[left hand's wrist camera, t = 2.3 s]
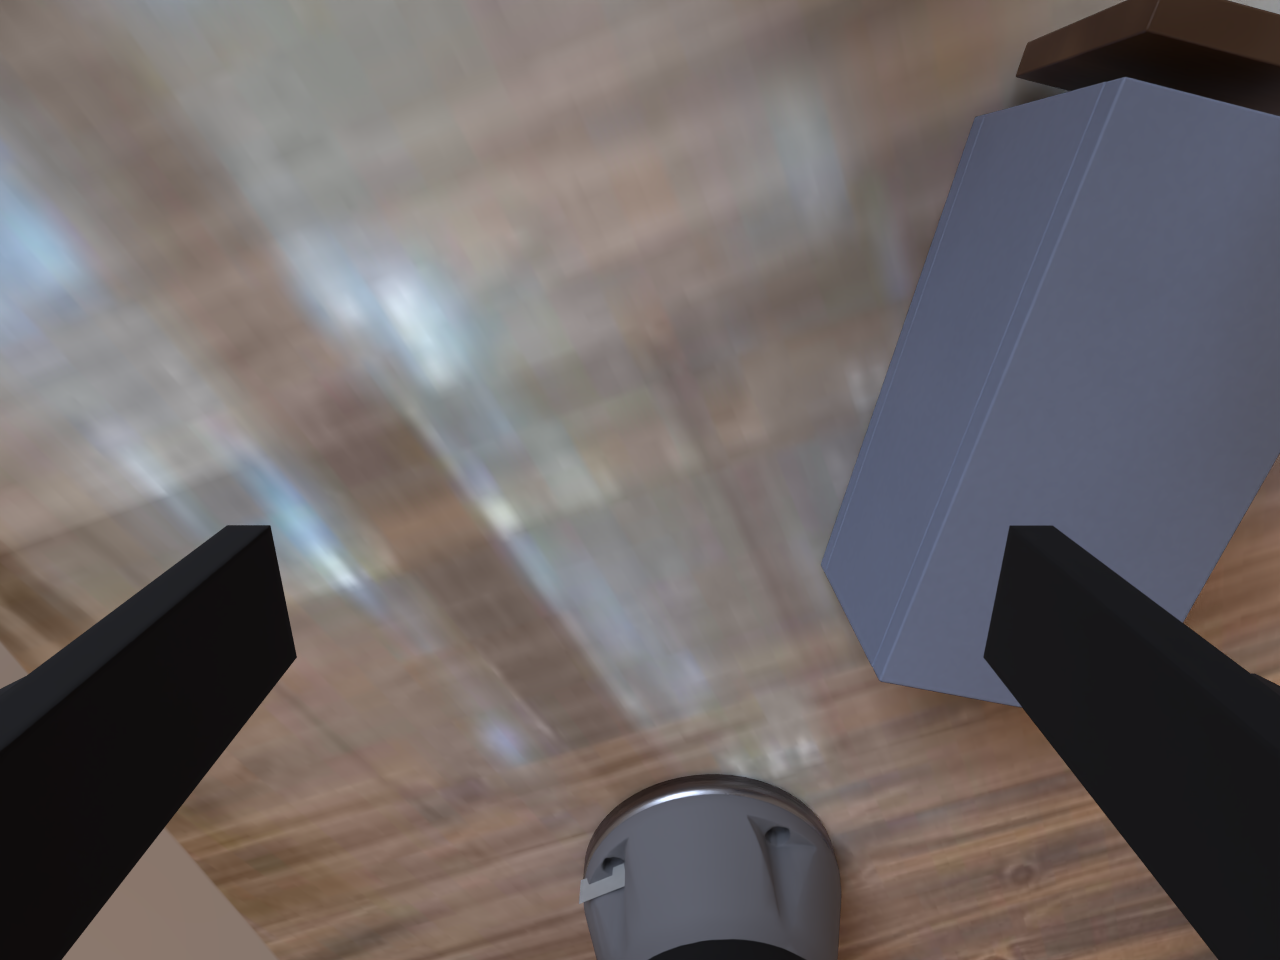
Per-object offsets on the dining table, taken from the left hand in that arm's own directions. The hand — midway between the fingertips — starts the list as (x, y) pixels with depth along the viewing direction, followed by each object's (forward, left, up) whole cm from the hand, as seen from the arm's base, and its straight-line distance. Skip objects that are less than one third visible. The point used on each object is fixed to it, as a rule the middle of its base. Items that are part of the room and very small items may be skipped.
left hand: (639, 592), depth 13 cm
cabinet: (-5, -15, -21) cm, 26 cm away
